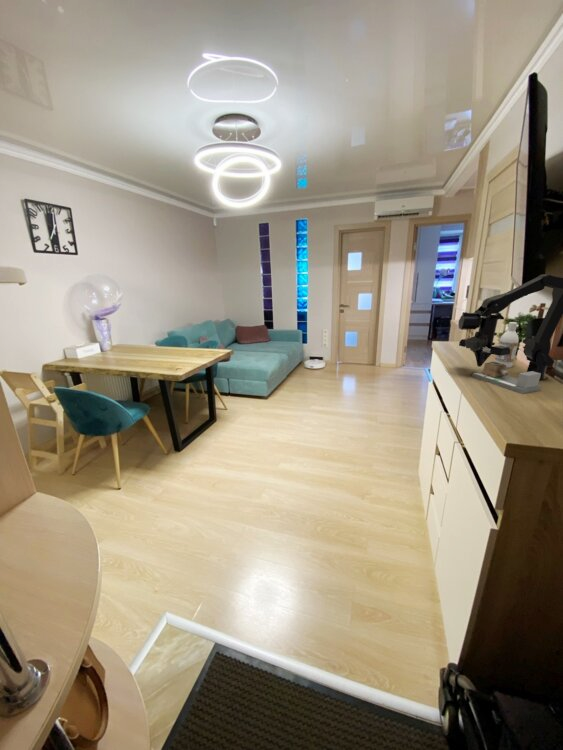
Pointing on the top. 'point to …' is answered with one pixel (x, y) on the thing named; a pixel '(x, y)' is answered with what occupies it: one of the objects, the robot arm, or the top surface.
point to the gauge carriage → (495, 369)
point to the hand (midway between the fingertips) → (479, 366)
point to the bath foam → (508, 345)
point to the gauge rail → (514, 381)
